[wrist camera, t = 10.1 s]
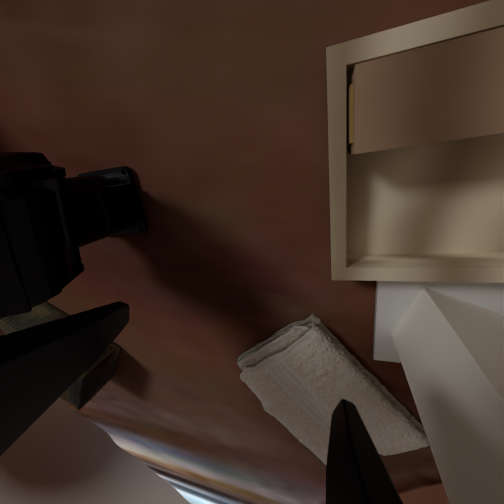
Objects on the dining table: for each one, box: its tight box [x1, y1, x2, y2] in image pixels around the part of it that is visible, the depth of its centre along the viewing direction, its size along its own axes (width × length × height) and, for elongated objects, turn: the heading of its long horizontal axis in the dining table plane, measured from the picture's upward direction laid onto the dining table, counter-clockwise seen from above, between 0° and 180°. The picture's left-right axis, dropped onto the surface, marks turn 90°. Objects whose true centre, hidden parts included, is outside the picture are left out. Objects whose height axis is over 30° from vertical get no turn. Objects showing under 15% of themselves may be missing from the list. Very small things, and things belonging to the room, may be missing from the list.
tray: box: [326, 0, 504, 283], centre depth 14 cm, size 14×14×3 cm
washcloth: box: [237, 314, 429, 465], centre depth 25 cm, size 12×18×3 cm, turn 47°
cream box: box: [392, 287, 504, 504], centre depth 13 cm, size 5×5×12 cm
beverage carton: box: [0, 302, 121, 410], centre depth 34 cm, size 8×19×7 cm, turn 67°
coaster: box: [373, 281, 504, 363], centre depth 19 cm, size 9×9×1 cm
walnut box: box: [347, 27, 504, 154], centre depth 13 cm, size 7×4×4 cm, turn 98°
